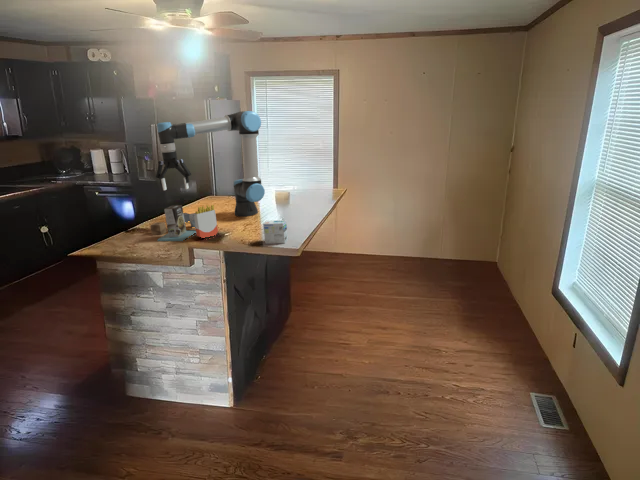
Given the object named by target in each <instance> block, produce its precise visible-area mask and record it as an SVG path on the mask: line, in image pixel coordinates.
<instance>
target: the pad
mask: <svg viewBox="0 0 640 480" xmlns="http://www.w3.org/2000/svg"><path fill="white" fill-rule="evenodd" d="M194 233H196V230H186V233H185V234H183V235H181V236H179V237H169V234H168V233H165V234H163V235H161V236H160V237H158V238H157V242H184V241H183V240H185V239H186V238H188V237H189V236H191V235H193V234H194ZM193 236H194V235H193ZM188 239H189V238H188ZM185 241H186V240H185Z"/></svg>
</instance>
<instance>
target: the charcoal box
mask: <svg viewBox="0 0 640 480" xmlns="http://www.w3.org/2000/svg"><path fill="white" fill-rule="evenodd" d="M183 214H184V220H185V222H186V223H189V222H188V221H190V218H189V214H190V213H187V212H183Z"/></svg>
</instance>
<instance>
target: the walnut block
mask: <svg viewBox="0 0 640 480" xmlns="http://www.w3.org/2000/svg"><path fill="white" fill-rule="evenodd" d="M149 227H150V228H149V229H150V231H151V235H152V236H163V235H165V234H167V233H168V230H167V225H166V221H165V222H164V221H163V222H162V221H161V222H160V221H159V222H154V223H152V224H150V225H149Z"/></svg>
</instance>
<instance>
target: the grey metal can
mask: <svg viewBox="0 0 640 480" xmlns="http://www.w3.org/2000/svg"><path fill="white" fill-rule="evenodd" d="M188 214H189V218H190V222H189V223H190V228H191V227H195V217H194V216H195V212H193V213H188Z"/></svg>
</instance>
